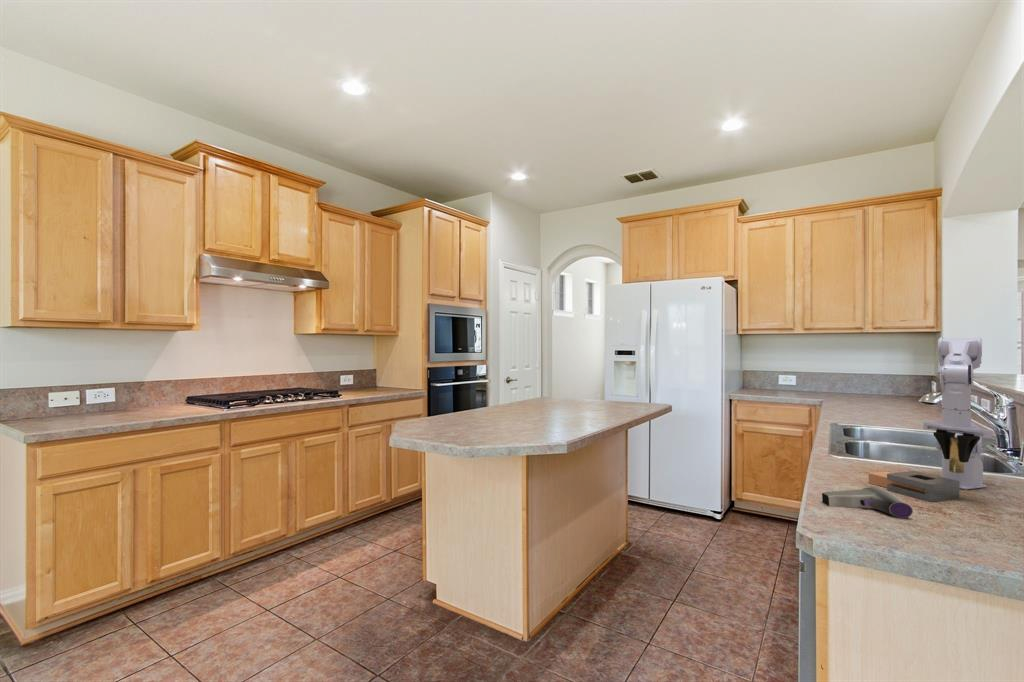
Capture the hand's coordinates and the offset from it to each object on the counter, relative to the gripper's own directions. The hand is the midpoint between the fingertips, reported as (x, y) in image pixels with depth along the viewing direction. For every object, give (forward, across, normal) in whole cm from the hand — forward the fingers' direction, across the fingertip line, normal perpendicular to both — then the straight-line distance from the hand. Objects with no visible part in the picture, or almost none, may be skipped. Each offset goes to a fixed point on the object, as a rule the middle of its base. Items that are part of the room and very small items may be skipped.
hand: (956, 460), depth 130 cm
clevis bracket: (+10, -5, -5) cm, 12 cm away
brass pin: (+3, 0, 0) cm, 3 cm away
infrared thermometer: (+11, -1, -33) cm, 34 cm away
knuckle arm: (+10, -9, -5) cm, 14 cm away
